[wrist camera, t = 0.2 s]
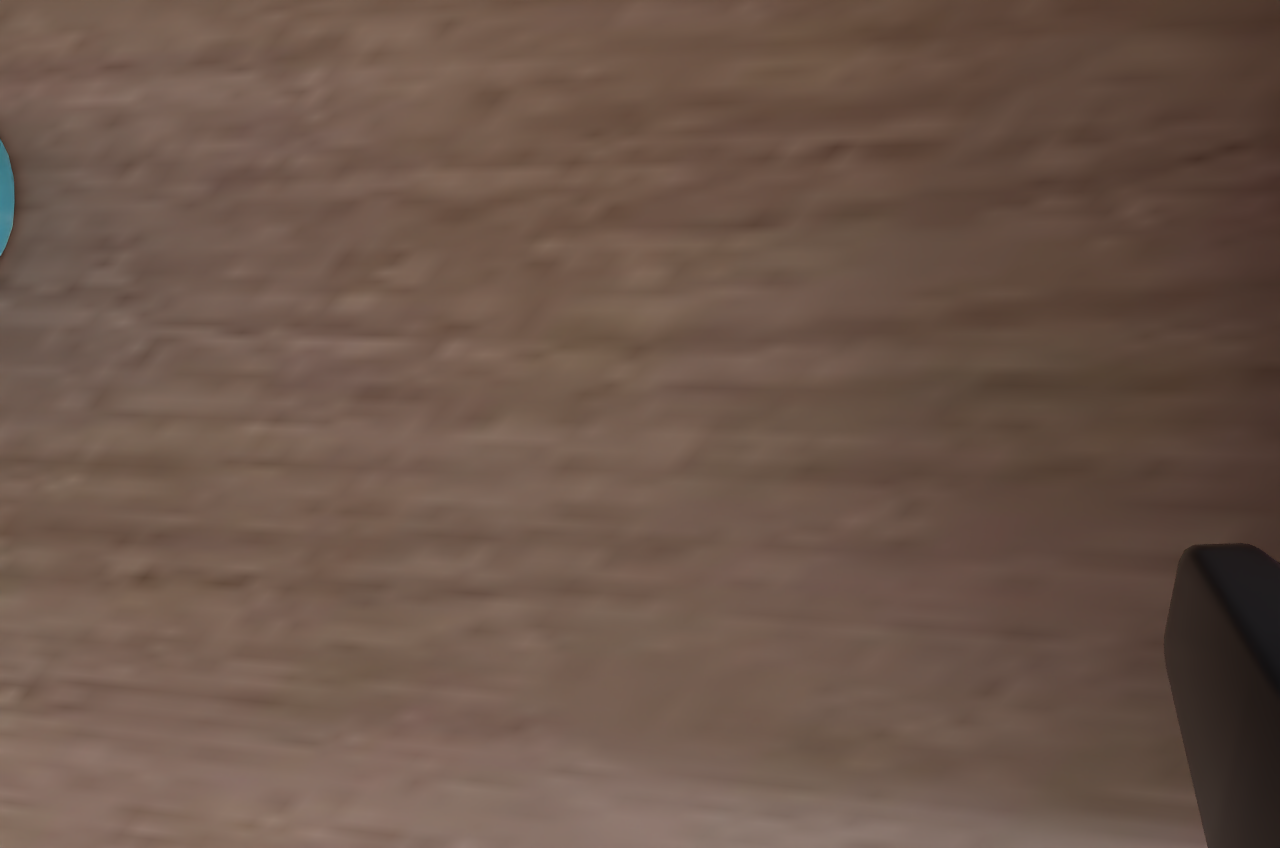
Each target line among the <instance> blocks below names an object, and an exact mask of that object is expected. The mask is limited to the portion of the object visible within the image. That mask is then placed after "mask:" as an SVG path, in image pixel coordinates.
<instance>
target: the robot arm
mask: <svg viewBox="0 0 1280 848" xmlns="http://www.w3.org/2000/svg"><path fill="white" fill-rule="evenodd" d="M1164 654H1165V663H1166V669H1167V673H1168V678H1169V682H1170V686H1171V691H1172V695H1173V699H1174V704H1175V708H1176V712H1177V717H1178V721H1179V725H1180V730H1181V734H1182V738H1183V743H1184V747H1185V751H1186V755H1187V760H1188V764H1189V768H1190V773H1191V777H1192V781H1193V786H1194V790H1195V794H1196V799H1197V803H1198V807H1199V812H1200V816H1201V820H1202V825H1203V829H1204V833H1205V838H1206V842H1207V846H1208V848H1280V563H1278V562H1277V561H1276V560H1274V559H1273V558H1272V557H1270V556H1269V555H1268V554H1266V553H1265V552H1264V551H1262V550H1260V549H1259V548H1257V547H1255V546H1252V545H1250V544H1243V543H1236V544H1203V545H1193V546H1191V547H1189V548H1188V549H1186V550H1185V551H1184V553H1183V554H1182V556H1181V558H1180V561H1179V564H1178V569H1177V574H1176V579H1175V584H1174V589H1173V594H1172V599H1171V604H1170V609H1169V614H1168V619H1167V624H1166V629H1165V636H1164Z"/></svg>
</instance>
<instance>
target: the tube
mask: <svg viewBox="0 0 1280 848" xmlns="http://www.w3.org/2000/svg"><path fill="white" fill-rule="evenodd" d="M14 204H15V201H14V176H13V173H12V169H11V164H10V159H9V155H8V153H7V151H6V149H5V147H4V145H3V143H2V141H1V139H0V256H1V254H2V253H3V251H4V249H5V247H6V244H7V242H8V239H9V236H10V233H11V230H12V227H13V217H14Z"/></svg>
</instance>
